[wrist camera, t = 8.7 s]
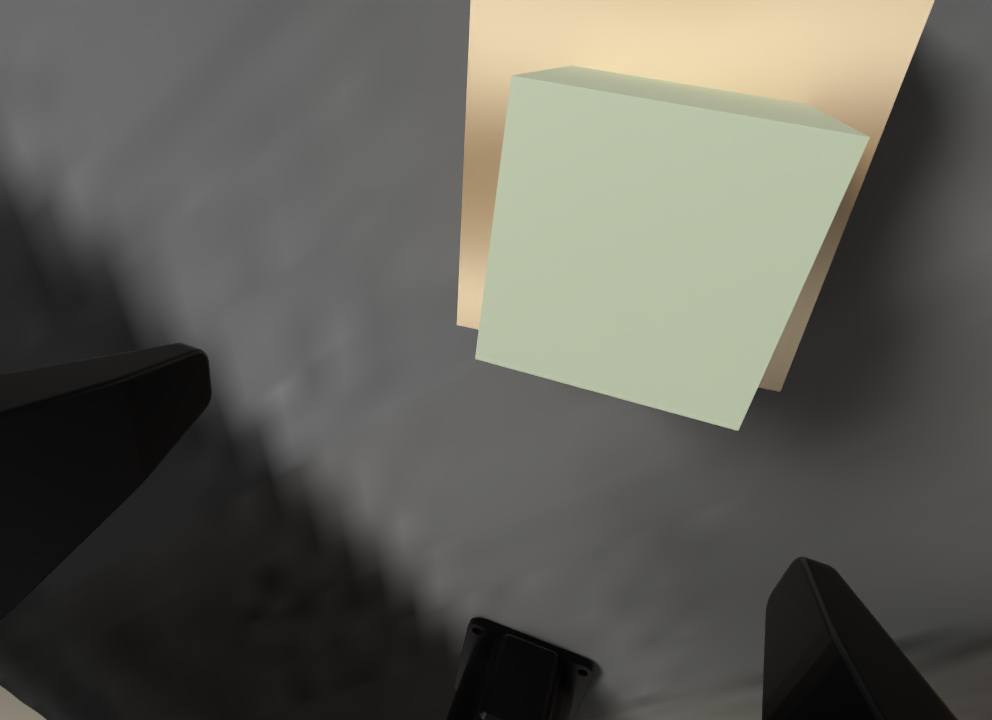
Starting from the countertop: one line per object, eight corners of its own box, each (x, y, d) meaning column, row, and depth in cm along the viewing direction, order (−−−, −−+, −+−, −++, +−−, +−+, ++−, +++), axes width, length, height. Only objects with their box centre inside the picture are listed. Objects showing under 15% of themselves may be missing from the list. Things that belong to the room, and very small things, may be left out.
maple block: (763, 327, 18) (780, 392, 15) (496, 278, 20) (456, 325, 17) (881, -6, 14) (943, -22, 10) (520, -28, 15) (472, -48, 12)
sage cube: (725, 317, 14) (738, 431, 10) (534, 272, 15) (475, 358, 11) (806, 104, 12) (870, 136, 7) (572, 65, 13) (511, 75, 8)
